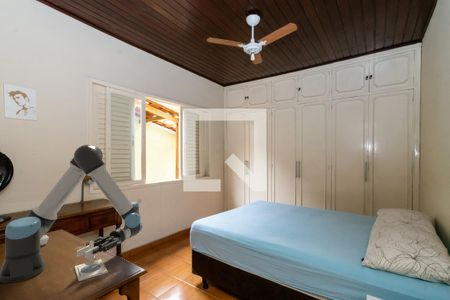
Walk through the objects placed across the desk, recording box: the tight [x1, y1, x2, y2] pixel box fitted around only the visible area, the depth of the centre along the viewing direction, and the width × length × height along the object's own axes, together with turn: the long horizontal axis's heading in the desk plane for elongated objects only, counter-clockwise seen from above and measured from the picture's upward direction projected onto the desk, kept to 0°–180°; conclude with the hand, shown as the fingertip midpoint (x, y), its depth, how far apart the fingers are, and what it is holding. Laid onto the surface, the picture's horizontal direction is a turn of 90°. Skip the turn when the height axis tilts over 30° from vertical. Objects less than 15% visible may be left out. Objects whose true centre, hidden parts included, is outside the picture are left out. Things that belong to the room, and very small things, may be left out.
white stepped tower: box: [84, 240, 99, 265], centre depth 104 cm, size 5×5×10 cm
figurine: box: [40, 234, 50, 246], centre depth 130 cm, size 7×9×15 cm
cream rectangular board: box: [74, 259, 109, 282], centre depth 103 cm, size 14×11×1 cm
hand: (81, 254), depth 98 cm, fingers closed on white stepped tower, 4 cm apart
